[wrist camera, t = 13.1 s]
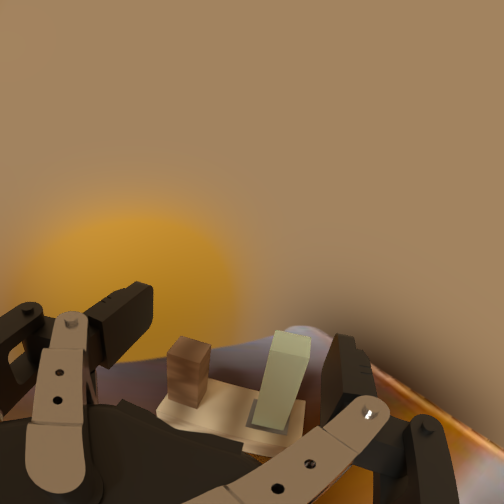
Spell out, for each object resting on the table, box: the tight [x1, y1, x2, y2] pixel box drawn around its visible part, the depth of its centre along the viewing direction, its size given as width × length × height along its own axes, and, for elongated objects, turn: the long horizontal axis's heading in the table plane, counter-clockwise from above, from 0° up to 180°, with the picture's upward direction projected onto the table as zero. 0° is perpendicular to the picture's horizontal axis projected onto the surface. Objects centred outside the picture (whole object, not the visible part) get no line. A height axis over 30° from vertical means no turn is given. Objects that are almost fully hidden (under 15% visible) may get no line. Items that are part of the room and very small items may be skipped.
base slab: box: [156, 336, 306, 458], centre depth 32 cm, size 18×9×11 cm, turn 78°
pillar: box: [252, 330, 311, 430], centre depth 30 cm, size 4×4×12 cm
